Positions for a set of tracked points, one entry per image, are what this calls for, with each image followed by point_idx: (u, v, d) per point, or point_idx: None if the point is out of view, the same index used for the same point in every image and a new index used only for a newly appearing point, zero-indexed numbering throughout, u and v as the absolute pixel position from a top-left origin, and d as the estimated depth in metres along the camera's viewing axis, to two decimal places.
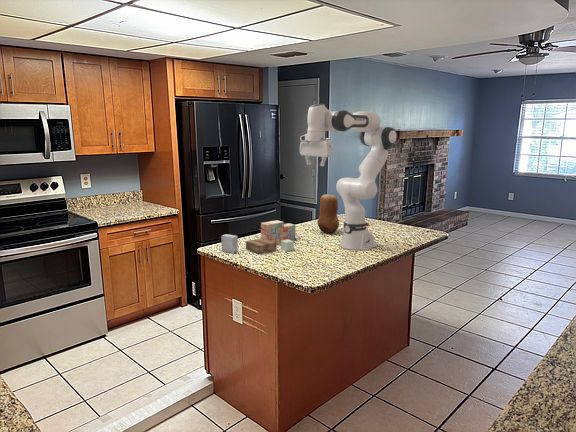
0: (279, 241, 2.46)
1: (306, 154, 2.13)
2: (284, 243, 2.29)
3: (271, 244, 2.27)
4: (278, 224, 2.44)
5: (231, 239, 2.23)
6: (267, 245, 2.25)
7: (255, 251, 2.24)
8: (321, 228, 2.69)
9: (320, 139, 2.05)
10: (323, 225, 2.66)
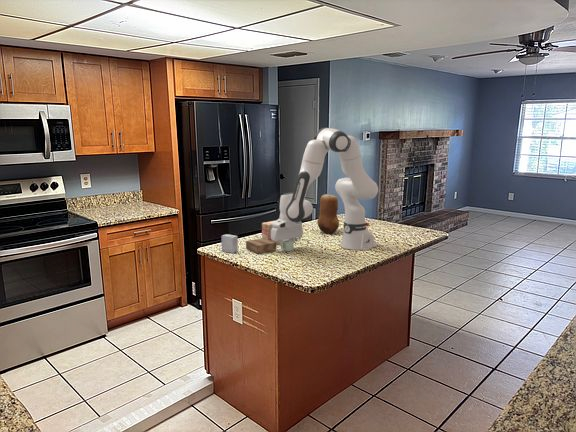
0: None
1: (282, 239, 2.26)
2: (284, 243, 2.29)
3: (271, 244, 2.27)
4: None
5: (231, 239, 2.23)
6: (266, 245, 2.25)
7: (254, 251, 2.24)
8: (321, 228, 2.69)
9: None
10: (323, 225, 2.66)
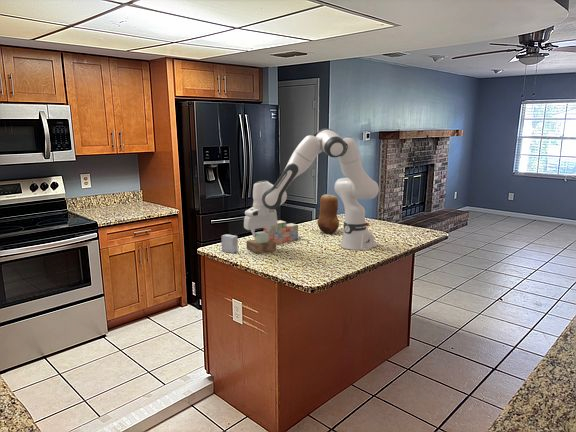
0: (282, 241, 2.46)
1: (255, 227, 2.24)
2: (258, 235, 2.27)
3: (270, 244, 2.26)
4: (281, 224, 2.44)
5: (231, 239, 2.23)
6: (265, 245, 2.25)
7: (253, 251, 2.25)
8: (321, 228, 2.69)
9: None
10: (323, 225, 2.66)
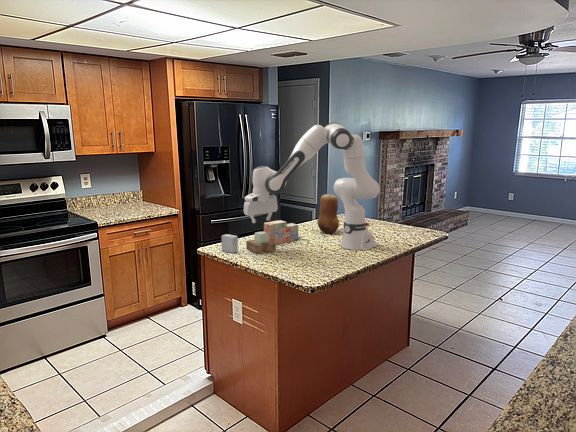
0: (282, 241, 2.46)
1: (255, 213, 2.23)
2: (258, 235, 2.27)
3: (270, 245, 2.26)
4: (281, 224, 2.44)
5: (231, 239, 2.23)
6: (265, 245, 2.25)
7: (253, 251, 2.25)
8: (321, 228, 2.69)
9: None
10: (323, 225, 2.66)
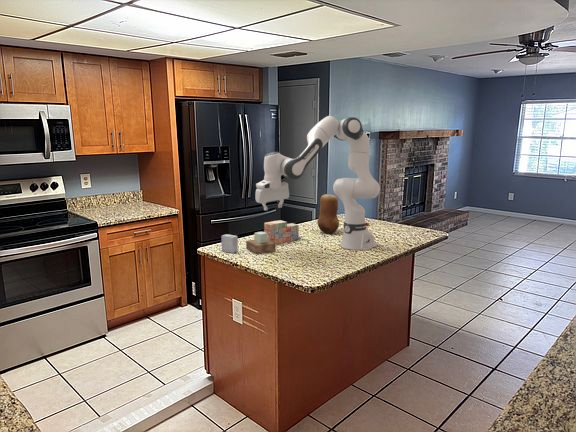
0: (282, 241, 2.46)
1: (267, 200, 2.20)
2: (258, 235, 2.27)
3: (269, 245, 2.26)
4: (281, 224, 2.44)
5: (231, 239, 2.23)
6: (265, 245, 2.25)
7: (253, 251, 2.25)
8: (321, 228, 2.69)
9: None
10: (323, 225, 2.66)
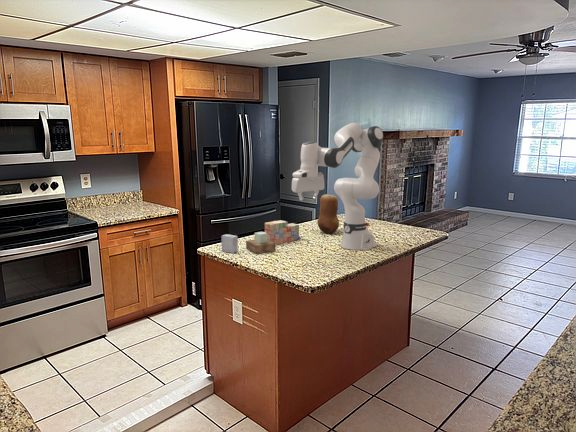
0: (283, 241, 2.46)
1: (303, 190, 2.14)
2: (257, 235, 2.27)
3: (269, 245, 2.26)
4: (282, 224, 2.44)
5: (231, 239, 2.23)
6: (265, 245, 2.25)
7: (253, 251, 2.25)
8: (321, 228, 2.69)
9: None
10: (323, 225, 2.66)
